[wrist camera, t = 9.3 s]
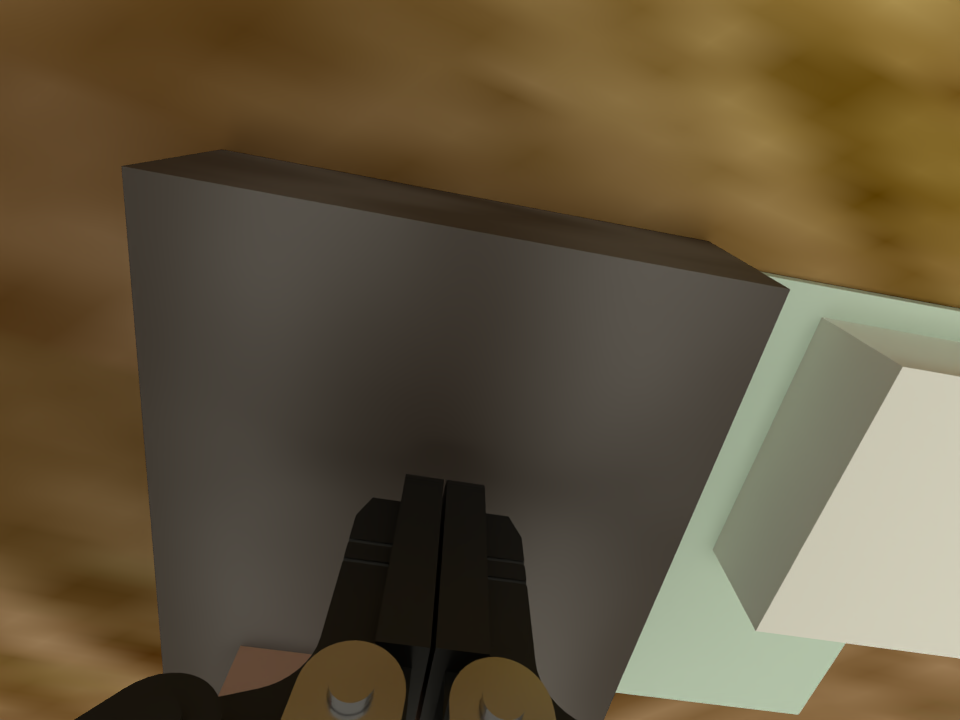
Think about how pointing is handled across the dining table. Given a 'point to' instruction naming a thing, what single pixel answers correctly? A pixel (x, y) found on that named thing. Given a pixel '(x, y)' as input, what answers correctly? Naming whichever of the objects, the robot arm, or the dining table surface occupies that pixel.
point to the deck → (420, 396)
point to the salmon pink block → (260, 668)
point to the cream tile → (856, 497)
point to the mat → (695, 568)
